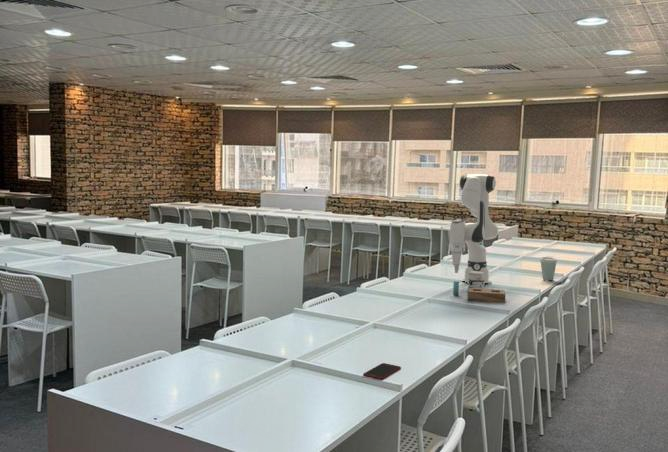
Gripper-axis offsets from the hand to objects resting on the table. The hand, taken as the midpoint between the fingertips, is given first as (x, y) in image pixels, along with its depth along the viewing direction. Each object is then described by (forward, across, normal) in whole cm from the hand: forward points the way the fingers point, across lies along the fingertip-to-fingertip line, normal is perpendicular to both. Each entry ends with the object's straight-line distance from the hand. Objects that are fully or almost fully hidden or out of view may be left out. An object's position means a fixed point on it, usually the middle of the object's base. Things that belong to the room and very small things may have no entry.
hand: (456, 271), depth 328 cm
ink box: (+14, -16, +11) cm, 24 cm away
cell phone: (+17, +139, -19) cm, 142 cm away
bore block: (+14, +6, +17) cm, 23 cm away
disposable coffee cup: (+13, -68, +57) cm, 90 cm away
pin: (+14, -1, 0) cm, 14 cm away
